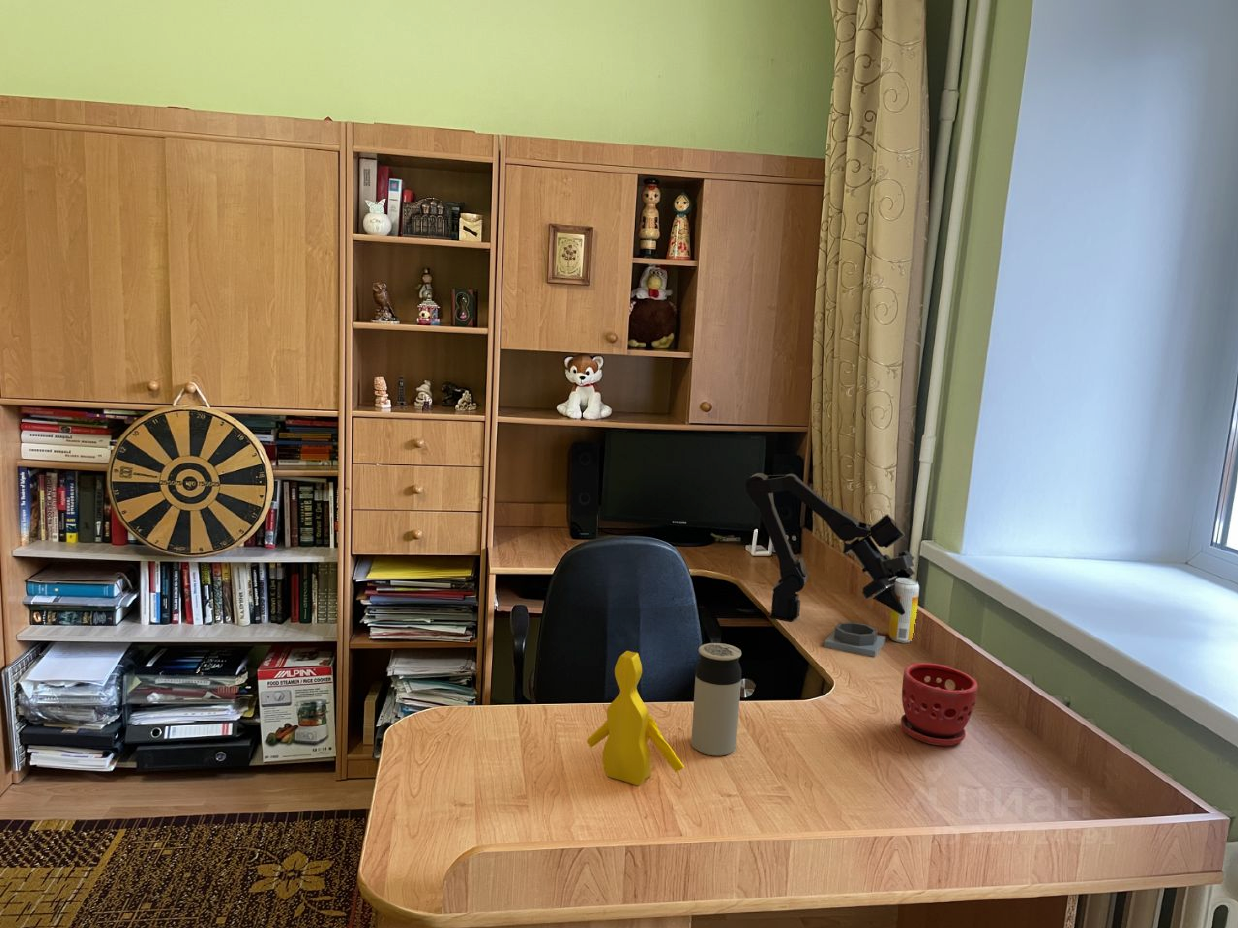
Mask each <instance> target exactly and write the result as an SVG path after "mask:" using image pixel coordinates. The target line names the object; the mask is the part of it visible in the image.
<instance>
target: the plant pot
mask: <svg viewBox="0 0 1238 928" xmlns="http://www.w3.org/2000/svg"><path fill="white" fill-rule="evenodd" d="M926 677H930V680H928V681H926V680H925V678H926ZM937 679H940V680H941V681H940V682H938V680H937ZM948 680H951V681H952V682H953V683H954V689H953V690H951V689H949V688H947V685H946V682H947V681H948ZM901 685H902V688H901V702H902V709H903V711H904V714H903V715H902V716H901V717H900V718H901V719H900V725H901V726H902V729H903V730H904V732H906V734H907V735H909V736H910V737H911V738H913V739H916V740H918V741H919V742H922V743H927V744H929V745H933V746H935V745H936V746H942V747H943V746H946V747H947V746H953V745H957V744H959V743H961V742H962V741H964V739H965V738H966V734H967V733H966V730H965V729H966V726H967V724H968V723H969V721H970V719H971V717H972V713H973V711H974V708H975V705H976V701H977V696H978V686H979V685H978V683H977V681H976V680H975V678H974V677H972V676H971V675H969V674H968V673H966V672H964V671H961V670H959V669H957V668H953V667H950V666H947V665H942V664H935V663H927V662H922V663H921V662H920V663H919V662H918V663H914V664H910V665H909V666H907V667H905V669H904V671H903V677H902V684H901ZM962 689H963V690H962Z"/></svg>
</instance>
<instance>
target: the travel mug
mask: <svg viewBox="0 0 1238 928" xmlns="http://www.w3.org/2000/svg"><path fill="white" fill-rule="evenodd" d="M698 653H699V655H700V658H699V660H698V662H697V663H696V664H695V665H696V666H695V676H694V677H695V678H694V679H695V681H694V696H693V707H692V708H693V711H692V712H693V713H692V725H691V742H690V743H691V744H690V745H691V746H692V747H693V749H695V750H697V751H698V752H700V753H702V754H705V755H708V756H715V757H716V756H717V757H718V756H726V755H729V754H731V753H733V752H735V750H736V749H737V741H738V740H737V739H738V737H737V736H738V725H739V724H738V723H739V711H740V710H739V709H740V698H741V697H740V695H741V694H740V693H741V685H742V684H741V683H742V682H741V681H742V668H741V664H740V663H739V660H740V657H741V656H742V651H741V649H740V648H738V647H736V646H734V645H731V644H727V643H722V642H721V643H720V642H709V643H704V644H703V645H700V646H699V647H698Z"/></svg>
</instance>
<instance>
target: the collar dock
mask: <svg viewBox="0 0 1238 928" xmlns="http://www.w3.org/2000/svg"><path fill="white" fill-rule="evenodd" d="M878 632H879V631H878V630H877V629H876V628H875V627H872V626H870V625H869V624H864V623H860V622H859V623H858V622H854V621H851V622H838V623H837V624H836V626H834V629H833V630H832V632H831V633H830V634H829V635H828V636H827V638H826V639H825V640H824V645H823V647H824V648H827V649H832V650H836V649H837V650H836V651H841V650H842V651H841V652H847V653H852V654H857V655H861V656H865V655H866V656H865V657H870V658H876V657H877V655H878V654H879V652H880V651H881V649H882V648H883V646H884V645H885V643H886V636H883V635H878ZM879 650H880V651H879Z"/></svg>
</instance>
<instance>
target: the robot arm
mask: <svg viewBox="0 0 1238 928" xmlns="http://www.w3.org/2000/svg"><path fill="white" fill-rule="evenodd" d="M744 490H745V492H746V494H747V497H748V498H749V499H750V500H751V502H752V503H753V505H754V506H755V507H756V508H757V509H758V511H759V513H760V516H761V519H762V521H763V524H764V526H765V528H766V531H767V533H768V536H769V539H770V542H771V544H772V547H773V549H774V551H775V555H776V557H777V559H778V566H779V574H780V579H779V580H778V581H777V582H776V583H775V585H774V587H773V588H772V596H771V597H772V598H771V608H770V609H771V610H770V611H771V612H770V613H769V614H768V617H769V618H772V619H773V618H774V619H778V620H782V621H788V622H793V621H795V620H796V619H797V618H798V617H799V616H800V609H801V600H800V599H799V596H800V594H799V593H798V592H800V591H802V589H803V587H804V586H805V585H806V582H807V580H808V572H809V569H807V567H806V565H805V562H804V561H805V560H804V558H803V557H800V558H798V557H797V556H796V555H795V554H794V552H793V549H792V547H791V545H790V542H789V539H788V536H787V534H786V530H785V528H784V525H783V524H782V520H781V519H780V516H779V514H778V511H777V508H776V506H775V502H774V493H779V492H789V493H790V494H792V495H793V496H795V498H797V499H798V500H799V501H801V503H803V504H804V505H806V507H808V508H809V509H811V510H812V512H814V513H815V514H817V515H818V516H819V517H821V518H822V519H823V520H824V521H825V523H826V524H827V526H828V527H829V528H830V530H831V531H832V532H833V533H834V534H835V535H836V537H837V538H838V539H839V540H840V541H843V542H844V544H843V545H844V547H843V551H842V553H843V554H847V555H848V554H850V553H851V552H852V554H854V556H855V558H856V559H857V560H858V562H859V564H861V566H862V567H863V568H861V571H862V572H863V574H865V573H867V574H868V575H869V577H870V579H871V580H872V581H871V582H869V583H868V584H867V585H864V586H863V587H862V590H861V593H862V595H863V596H864V598H865V599H866V600H868V599H870V598H872V600H874V601H876V602H879V603H881V604H883V605H885V606H886V607H888V608H890V610H891V609H893V610H894V611H896V612H898V613H899V614H901V615H903V614H905V610H904V608H903V607H902V605H901V603H900V601H899V600H898V598H897V596H896V594H895V584H894V582H895V580H896V579H897V578H907V579H912V577H913V576H914V575H915V574H916V573H915V572H914V570H913V569H912V568H911V567H914V566H915V565H914V559H915V557H914V556H913V555H912V553H910V551H908V550H903V551H899V552H898V556H895V557H892V558H891V557H890V556H889V555H888V554H883V553H882V552H881V550H880V549H879V548H885V549H888V548H889V547H890V546H892V545H894V544H895V543H897V542H898V541H899V540H901V539H902V538H904V537H905V536H906V534H905V532H904V530H903V528H901V526H900V525H899V524H898V522H897V521H895V520H894V519H893V518H892V517H890V515H889V514H884V516H882V517H881V519H879V520H878V521H877V522H875V523H873V524H869V523H866V522H863V521H859V519H858V518H857V517H855V516H854V515H852V514H850V513H849V512H846V511H844V510H843V509H840V508H838V507H836V506H834V505H833V504H831V503H830V502H828V501H827V500H826V499H825V498H824V497H823V496H821V495H820V494H819V493H817V492H816V491H815V490H814V489H812V488H811V487H810V486H809V485H807V484H806V483H805V482H803V481H802V480H801V479H800V478H799V477H798V476H797V475H796V474H794V473H789V474H773V475H771V474H770V475H767V474H765V473H762V472H757V473H754V474H752V476H750V477H749V478H748V479H747V480H746V482H745V485H744ZM872 539H873V540H872ZM849 542H850V543H849ZM877 546H878V547H877ZM912 580H913V579H912ZM893 584H894V585H893ZM874 595H875V596H874ZM873 596H874V597H873Z"/></svg>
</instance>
